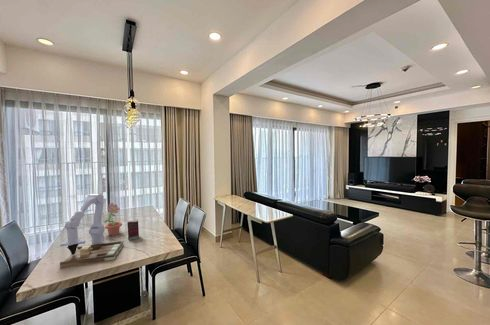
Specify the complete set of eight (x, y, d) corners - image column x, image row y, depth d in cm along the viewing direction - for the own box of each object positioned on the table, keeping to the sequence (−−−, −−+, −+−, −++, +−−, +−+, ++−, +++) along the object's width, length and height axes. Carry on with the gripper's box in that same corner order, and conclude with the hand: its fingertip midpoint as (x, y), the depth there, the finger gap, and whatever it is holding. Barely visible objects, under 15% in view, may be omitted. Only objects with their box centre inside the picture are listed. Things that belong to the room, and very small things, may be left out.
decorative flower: (112, 237, 180) (111, 205, 179) (100, 236, 183) (99, 205, 181) (125, 231, 195) (124, 201, 193) (114, 230, 198) (112, 201, 196)
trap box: (78, 250, 156) (77, 246, 156) (123, 244, 166) (123, 240, 166) (60, 267, 134) (59, 262, 133) (114, 259, 143) (113, 254, 143)
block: (83, 252, 150) (83, 246, 149) (91, 251, 151) (90, 245, 151) (80, 255, 145) (79, 249, 144) (88, 254, 146) (87, 248, 146)
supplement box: (138, 236, 183) (138, 219, 182) (139, 238, 179) (138, 221, 178) (128, 238, 179) (127, 221, 178) (128, 240, 175) (127, 222, 174)
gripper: (57, 240, 139) (58, 258, 140) (81, 237, 143) (82, 255, 144) (63, 236, 146) (64, 253, 146) (86, 233, 150) (87, 250, 151)
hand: (73, 254), depth 146 cm, fingers closed
